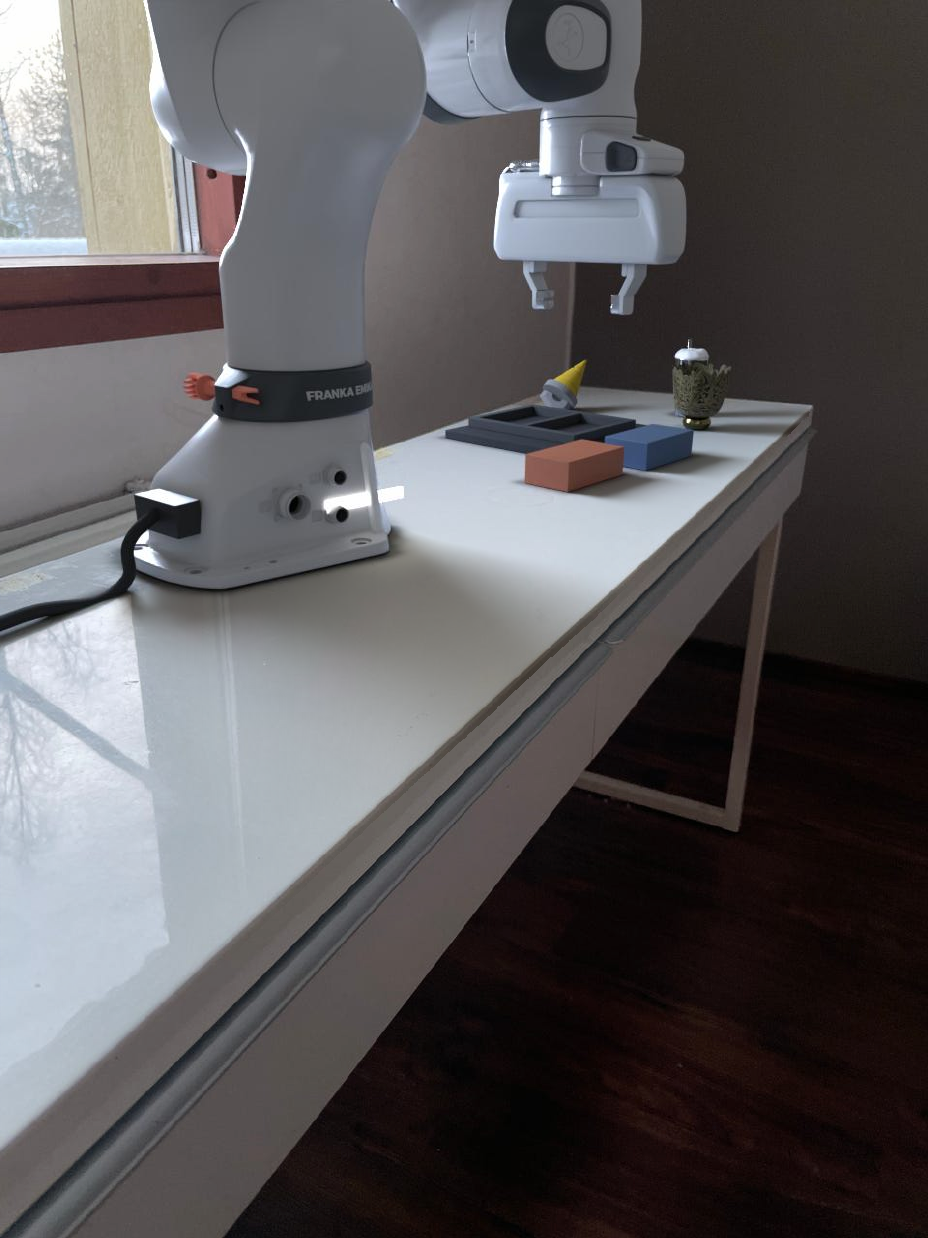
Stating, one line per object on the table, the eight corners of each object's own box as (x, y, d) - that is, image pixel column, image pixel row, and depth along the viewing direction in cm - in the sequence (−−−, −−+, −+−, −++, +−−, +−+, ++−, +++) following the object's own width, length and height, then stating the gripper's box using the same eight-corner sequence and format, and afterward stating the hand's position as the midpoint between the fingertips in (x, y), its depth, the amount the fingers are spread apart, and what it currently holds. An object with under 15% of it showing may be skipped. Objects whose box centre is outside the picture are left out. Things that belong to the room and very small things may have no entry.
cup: (655, 427, 125) (660, 365, 122) (688, 420, 130) (694, 360, 127) (703, 436, 120) (710, 371, 117) (736, 428, 125) (743, 366, 122)
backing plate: (561, 460, 108) (562, 440, 107) (445, 437, 119) (445, 420, 118) (654, 433, 122) (656, 416, 121) (542, 416, 133) (542, 400, 132)
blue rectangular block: (645, 470, 103) (647, 443, 102) (603, 463, 106) (604, 436, 105) (691, 455, 110) (694, 429, 109) (650, 448, 113) (652, 423, 112)
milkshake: (699, 411, 137) (706, 339, 133) (704, 418, 132) (712, 343, 128) (667, 410, 137) (673, 338, 133) (671, 417, 132) (678, 342, 128)
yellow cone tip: (531, 411, 138) (570, 359, 140) (562, 430, 137) (601, 377, 139) (530, 394, 133) (571, 340, 135) (562, 413, 132) (603, 358, 133)
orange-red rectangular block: (567, 492, 95) (569, 462, 94) (524, 482, 98) (525, 454, 97) (622, 474, 102) (624, 446, 100) (580, 466, 105) (581, 439, 104)
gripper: (480, 159, 93) (480, 308, 98) (664, 149, 80) (652, 320, 86) (520, 161, 97) (518, 303, 102) (700, 152, 84) (687, 315, 90)
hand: (581, 311), depth 94 cm, fingers open, 8 cm apart
